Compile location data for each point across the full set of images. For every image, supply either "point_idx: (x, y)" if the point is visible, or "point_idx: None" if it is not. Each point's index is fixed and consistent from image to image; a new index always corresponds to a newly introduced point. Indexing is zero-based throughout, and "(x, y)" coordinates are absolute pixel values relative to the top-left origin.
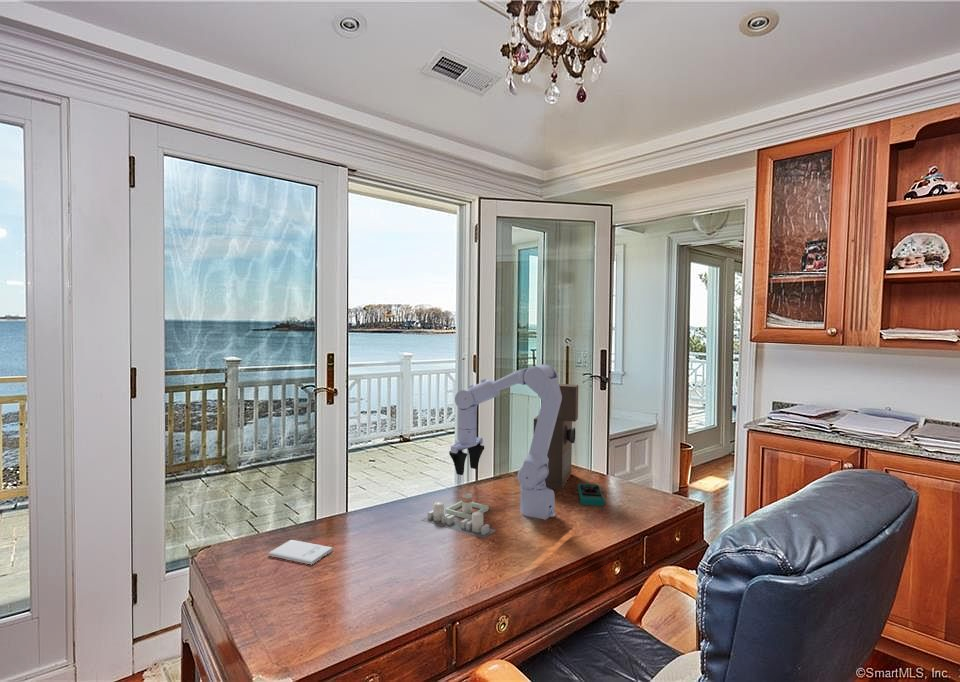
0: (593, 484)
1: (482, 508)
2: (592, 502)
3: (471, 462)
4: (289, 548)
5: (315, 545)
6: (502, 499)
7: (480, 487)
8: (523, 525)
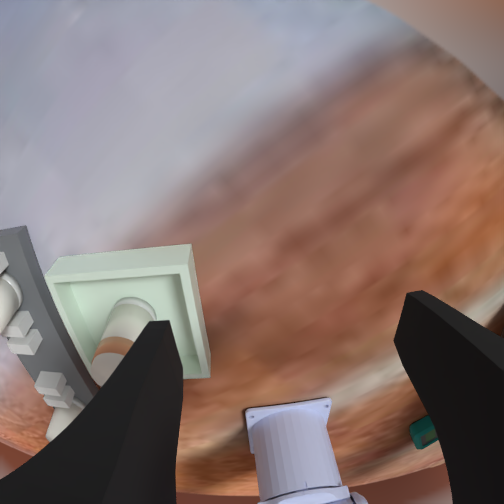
0: None
1: None
2: (412, 439)
3: (435, 335)
4: None
5: None
6: (383, 301)
7: (471, 140)
8: (215, 433)
